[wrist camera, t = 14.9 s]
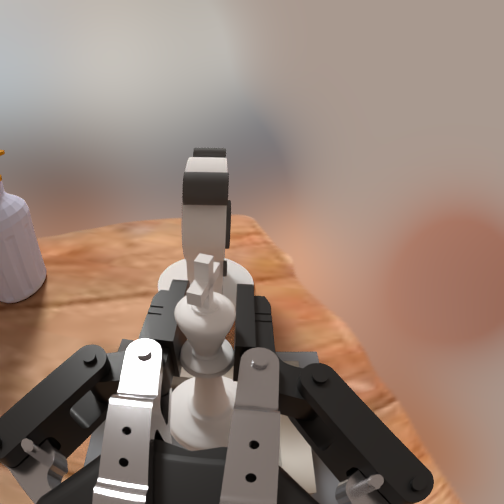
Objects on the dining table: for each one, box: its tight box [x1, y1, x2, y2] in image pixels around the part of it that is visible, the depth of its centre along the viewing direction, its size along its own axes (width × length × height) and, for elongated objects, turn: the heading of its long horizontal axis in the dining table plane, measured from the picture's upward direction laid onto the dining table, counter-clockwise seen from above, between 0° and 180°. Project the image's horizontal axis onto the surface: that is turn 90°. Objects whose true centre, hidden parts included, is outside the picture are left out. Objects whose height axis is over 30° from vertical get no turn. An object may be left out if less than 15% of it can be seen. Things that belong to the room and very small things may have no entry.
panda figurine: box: [158, 148, 254, 309], centre depth 29 cm, size 12×11×15 cm
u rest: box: [84, 339, 340, 504], centre depth 16 cm, size 18×18×3 cm
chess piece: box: [170, 253, 237, 451], centre depth 10 cm, size 5×5×10 cm
